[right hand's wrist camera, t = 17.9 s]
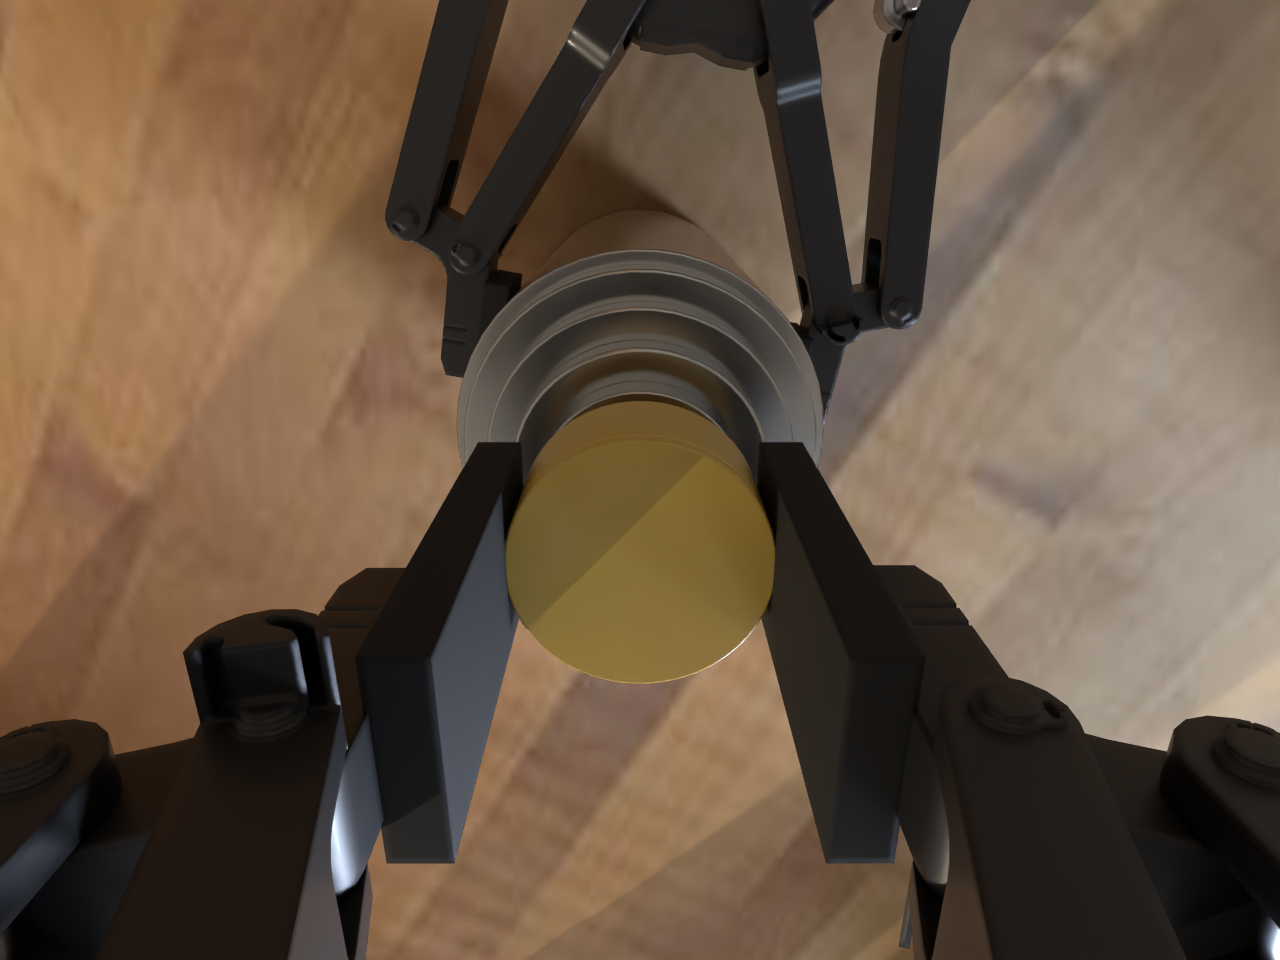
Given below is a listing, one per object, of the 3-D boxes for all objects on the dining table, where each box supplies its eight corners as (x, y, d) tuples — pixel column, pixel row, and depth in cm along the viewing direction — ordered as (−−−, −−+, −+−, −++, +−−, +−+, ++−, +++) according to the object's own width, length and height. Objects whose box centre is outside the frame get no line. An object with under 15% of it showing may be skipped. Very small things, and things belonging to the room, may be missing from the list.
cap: (740, 379, 13) (758, 417, 11) (772, 596, 15) (792, 662, 13) (496, 423, 14) (472, 467, 12) (551, 632, 15) (538, 702, 13)
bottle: (732, 429, 33) (850, 777, 15) (530, 413, 33) (387, 747, 14) (759, 219, 30) (955, 316, 11) (537, 200, 30) (367, 266, 11)
